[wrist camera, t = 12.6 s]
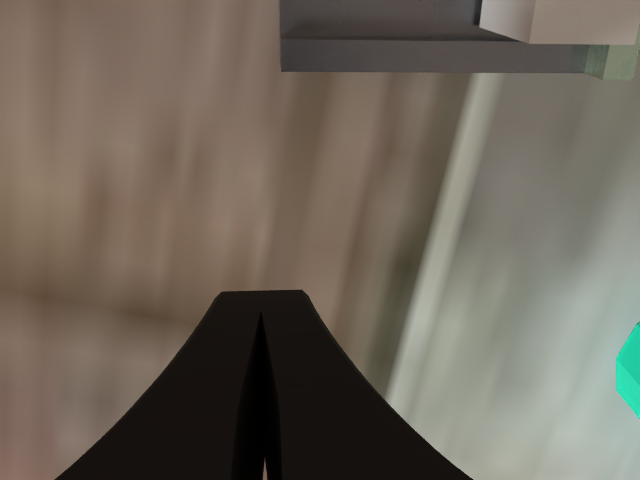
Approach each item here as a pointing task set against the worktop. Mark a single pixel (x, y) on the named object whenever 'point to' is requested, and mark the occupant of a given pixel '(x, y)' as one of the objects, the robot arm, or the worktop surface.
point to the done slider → (563, 21)
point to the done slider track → (427, 41)
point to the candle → (630, 371)
